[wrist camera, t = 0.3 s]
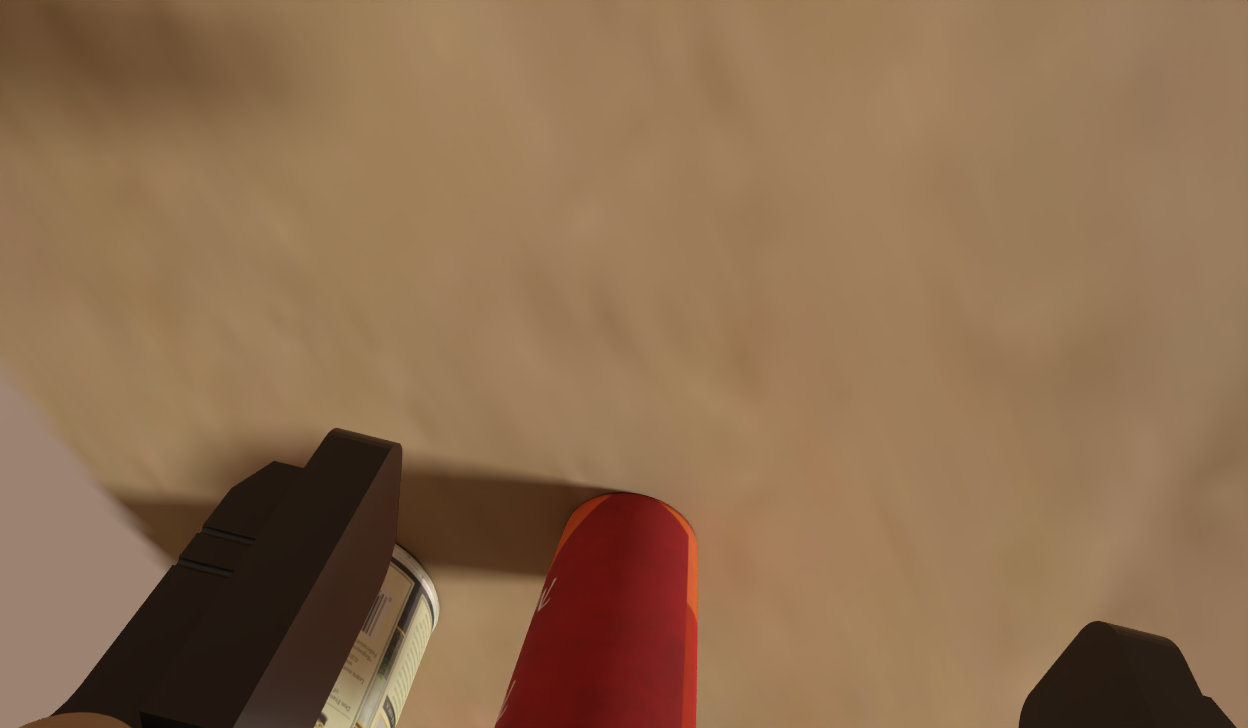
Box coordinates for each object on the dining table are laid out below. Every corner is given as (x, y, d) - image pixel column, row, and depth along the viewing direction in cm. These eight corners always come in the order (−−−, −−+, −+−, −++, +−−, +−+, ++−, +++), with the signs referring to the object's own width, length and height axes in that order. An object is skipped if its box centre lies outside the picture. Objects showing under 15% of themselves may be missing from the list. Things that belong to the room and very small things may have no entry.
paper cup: (504, 507, 35) (381, 859, 24) (663, 447, 32) (605, 820, 21) (605, 619, 39) (538, 974, 28) (757, 575, 36) (751, 955, 25)
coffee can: (240, 627, 43) (53, 937, 32) (219, 486, 37) (-22, 808, 26) (437, 673, 43) (319, 1000, 32) (448, 539, 37) (307, 886, 26)
